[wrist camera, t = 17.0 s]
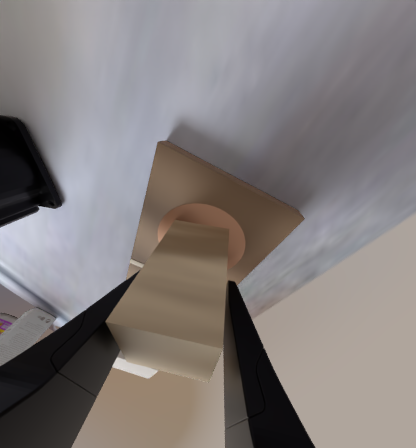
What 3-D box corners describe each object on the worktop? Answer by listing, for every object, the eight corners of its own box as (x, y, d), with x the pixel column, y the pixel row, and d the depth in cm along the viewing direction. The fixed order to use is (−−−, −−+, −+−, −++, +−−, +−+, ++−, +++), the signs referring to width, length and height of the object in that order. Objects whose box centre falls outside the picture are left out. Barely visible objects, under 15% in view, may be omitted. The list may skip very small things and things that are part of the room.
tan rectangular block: (175, 219, 11) (105, 321, 5) (229, 229, 11) (222, 349, 5) (175, 258, 13) (127, 361, 7) (220, 267, 13) (208, 382, 7)
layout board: (166, 140, 9) (157, 141, 8) (298, 210, 10) (305, 219, 9) (124, 300, 21) (118, 309, 20) (188, 325, 22) (186, 334, 21)
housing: (135, 314, 23) (113, 356, 19) (171, 328, 24) (158, 370, 19) (130, 328, 26) (110, 366, 22) (161, 339, 27) (148, 378, 23)
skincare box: (36, 306, 27) (-84, 412, 17) (59, 318, 29) (-37, 422, 18) (24, 312, 29) (-86, 408, 19) (46, 323, 31) (-45, 417, 21)
